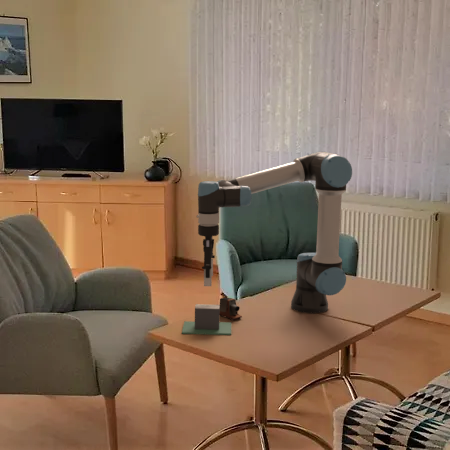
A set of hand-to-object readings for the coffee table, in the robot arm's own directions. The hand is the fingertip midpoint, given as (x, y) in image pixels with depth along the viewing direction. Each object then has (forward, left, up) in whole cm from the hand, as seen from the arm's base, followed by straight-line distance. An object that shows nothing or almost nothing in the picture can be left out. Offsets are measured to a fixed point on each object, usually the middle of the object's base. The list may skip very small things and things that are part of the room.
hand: (208, 280), depth 250 cm
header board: (0, 0, -19) cm, 19 cm away
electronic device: (-8, -14, -19) cm, 25 cm away
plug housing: (0, 0, -18) cm, 18 cm away
